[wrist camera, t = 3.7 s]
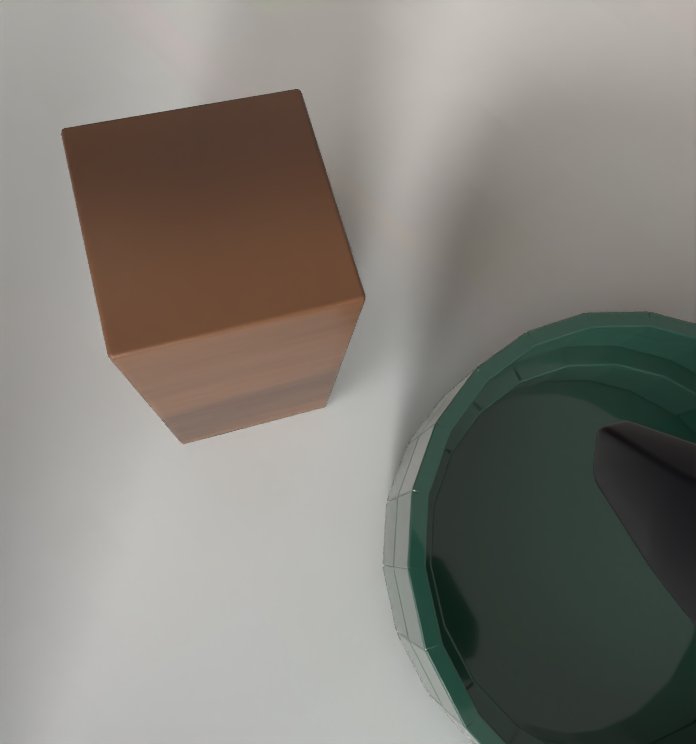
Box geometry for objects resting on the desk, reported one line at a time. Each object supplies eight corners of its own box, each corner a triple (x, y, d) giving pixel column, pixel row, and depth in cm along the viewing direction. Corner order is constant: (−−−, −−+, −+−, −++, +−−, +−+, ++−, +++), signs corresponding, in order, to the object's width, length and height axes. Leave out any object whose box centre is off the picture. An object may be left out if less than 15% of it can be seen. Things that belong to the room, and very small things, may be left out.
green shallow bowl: (614, 897, 19) (713, 997, 15) (291, 546, 21) (296, 545, 17) (851, 556, 23) (985, 558, 19) (561, 280, 25) (622, 223, 20)
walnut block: (326, 406, 22) (367, 298, 13) (181, 445, 21) (107, 359, 12) (288, 276, 23) (300, 86, 14) (149, 307, 22) (59, 127, 13)
